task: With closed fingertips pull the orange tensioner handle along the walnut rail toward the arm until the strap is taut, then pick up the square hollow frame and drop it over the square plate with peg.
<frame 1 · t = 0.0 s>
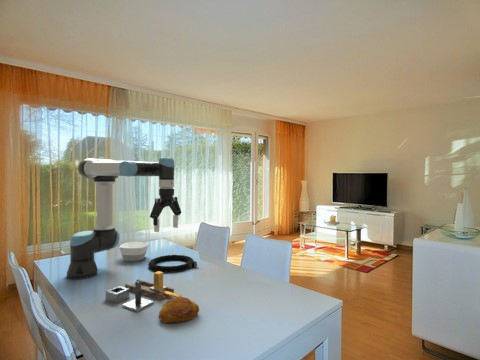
hand: (166, 229, 150), 28 cm above the table, fingers open, 13 cm apart
rail: (149, 291, 141), on the table
square hollow frame: (117, 298, 132), on the table
square plate with peg: (138, 305, 126), on the table
tensioner: (166, 284, 135), point 6 cm above the table, slide at 0.0 cm
croissant: (178, 316, 117), on the table
bowl: (134, 259, 194), on the table
cable lock: (173, 266, 180), on the table
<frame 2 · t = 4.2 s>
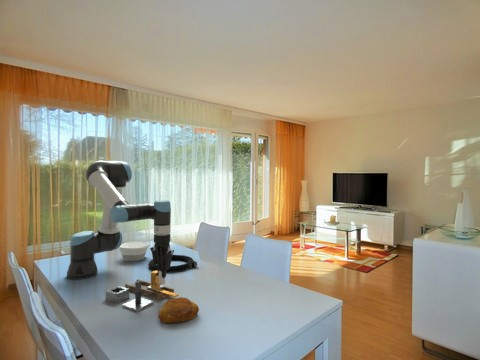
hand: (161, 284, 137), 5 cm above the table, fingers closed
tensioner: (163, 283, 136), point 6 cm above the table, slide at 1.9 cm, touching gripper
everything else where it was.
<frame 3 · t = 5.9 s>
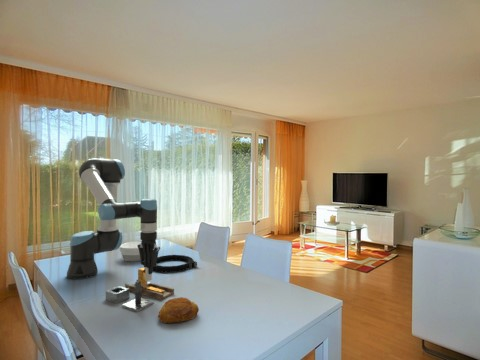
hand: (148, 280, 141), 5 cm above the table, fingers closed
tensioner: (150, 279, 140), point 6 cm above the table, slide at 10.3 cm
everything else where it was.
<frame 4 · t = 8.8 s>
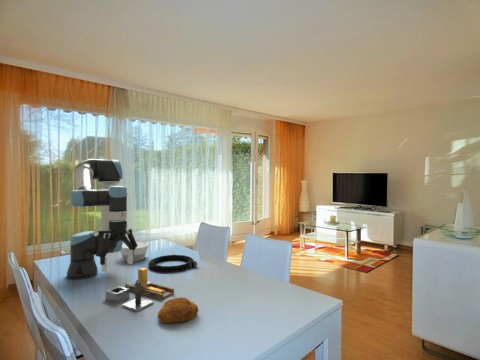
hand: (117, 267, 132), 14 cm above the table, fingers open, 13 cm apart
nothing on the table moved.
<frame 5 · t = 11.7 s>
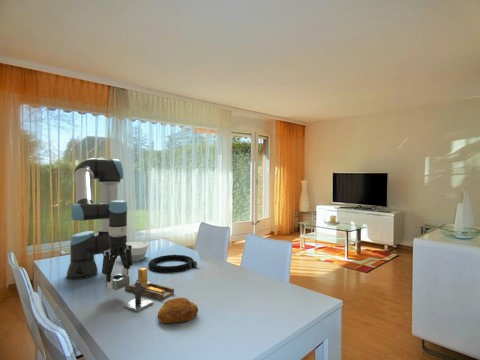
hand: (117, 285, 133), 6 cm above the table, fingers closed on square hollow frame, 7 cm apart
square hollow frame: (117, 285, 133), point 6 cm above the table, touching gripper
everything else where it was.
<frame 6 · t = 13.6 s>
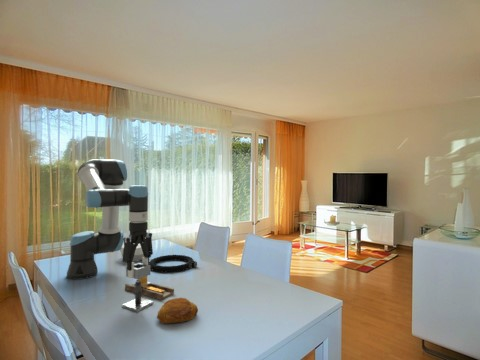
hand: (138, 274, 125), 13 cm above the table, fingers closed on square hollow frame, 7 cm apart
square hollow frame: (138, 275, 125), point 13 cm above the table, touching gripper
everything else where it was.
when the fingers open (3 cm above the table, at t = 15.7 s): square hollow frame drops 1 cm, resting on square plate with peg.
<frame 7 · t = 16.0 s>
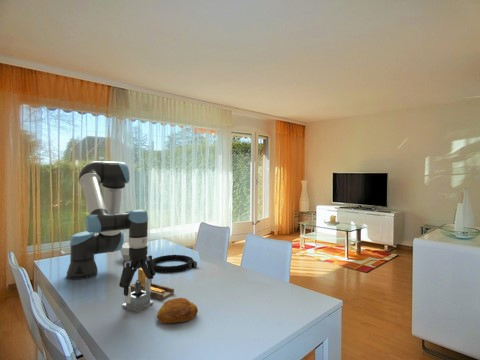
hand: (138, 297, 126), 3 cm above the table, fingers open, 10 cm apart
square hollow frame: (138, 302, 126), point 1 cm above the table, touching square plate with peg
everything else where it was.
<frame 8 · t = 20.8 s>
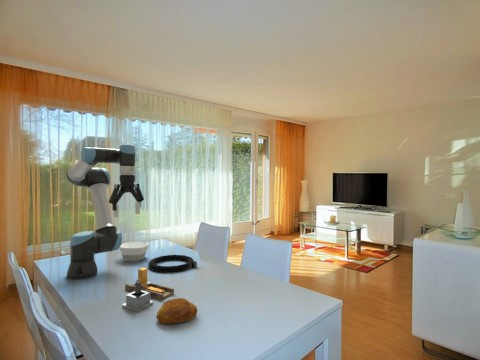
hand: (127, 215, 152), 35 cm above the table, fingers open, 13 cm apart
at the end: tensioner slide at 10.4 cm; square hollow frame 0.0 cm from the square plate with peg (horizontally); square hollow frame point 1.0 cm above the table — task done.
